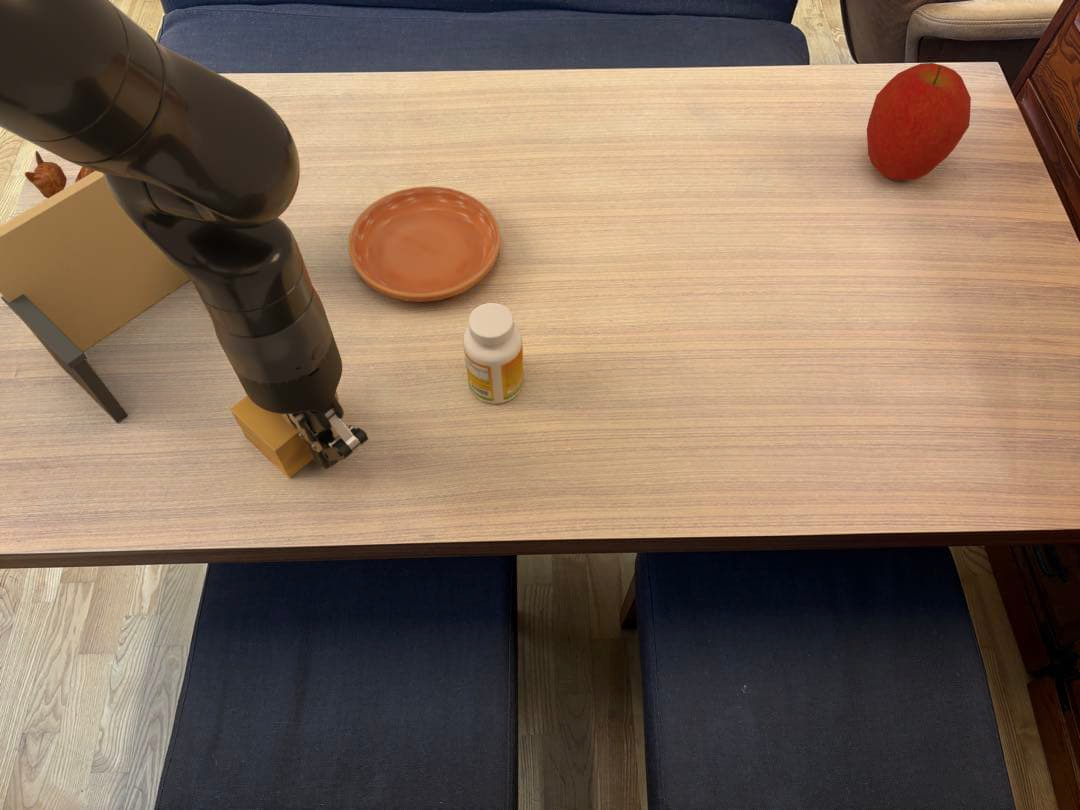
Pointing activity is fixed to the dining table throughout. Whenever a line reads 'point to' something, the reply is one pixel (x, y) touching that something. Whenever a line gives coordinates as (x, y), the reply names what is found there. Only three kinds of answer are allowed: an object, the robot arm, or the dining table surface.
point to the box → (272, 436)
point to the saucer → (424, 243)
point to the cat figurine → (51, 177)
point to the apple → (917, 121)
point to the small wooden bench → (81, 275)
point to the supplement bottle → (493, 354)
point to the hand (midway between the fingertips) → (330, 457)
